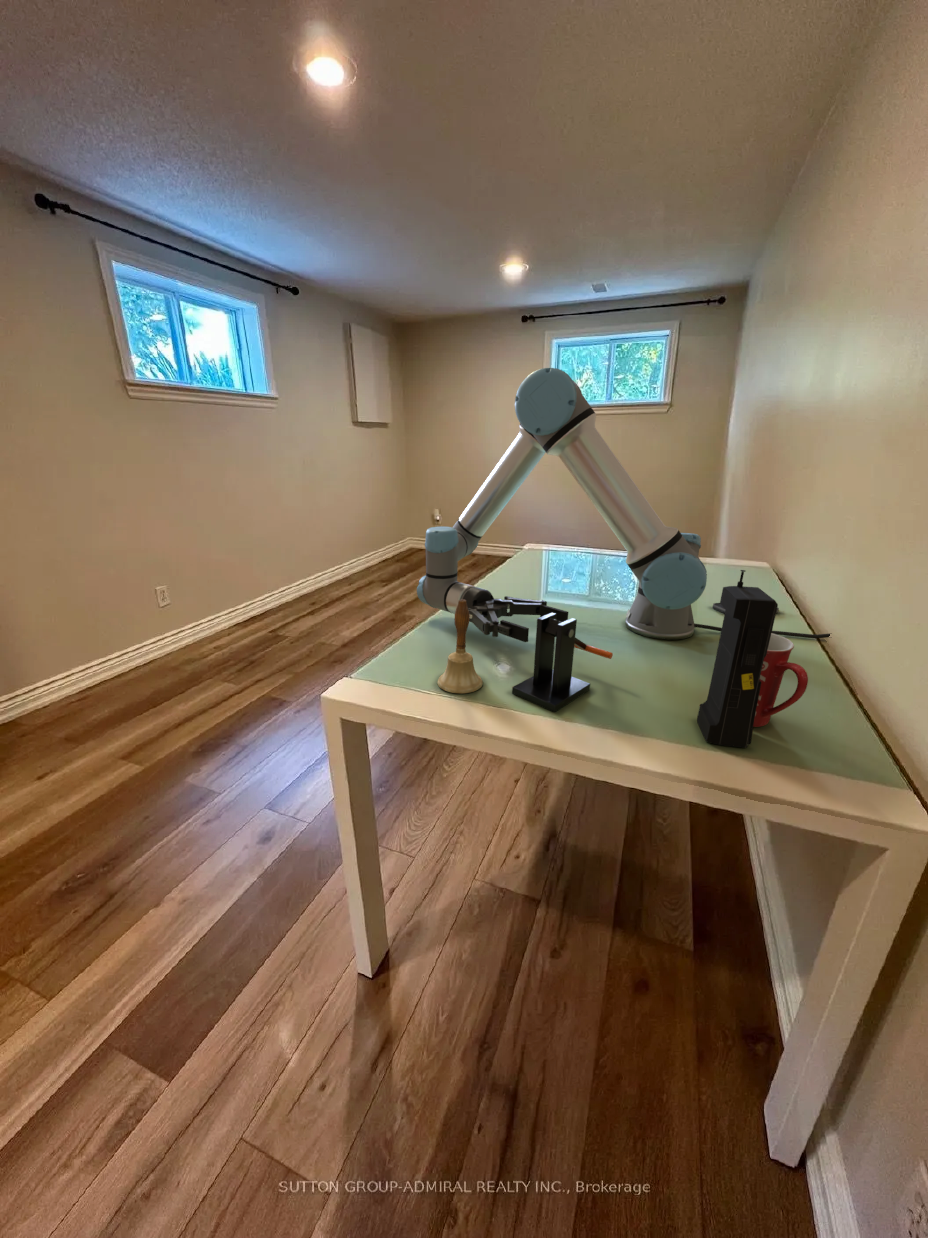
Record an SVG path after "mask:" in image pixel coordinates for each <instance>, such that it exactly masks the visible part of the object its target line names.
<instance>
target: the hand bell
mask: <svg viewBox="0 0 928 1238" xmlns="http://www.w3.org/2000/svg"><path fill="white" fill-rule="evenodd" d="M469 624H470V621H469V610H468V607H467V603H466V600H464V599H460V600H459V602H458V605H457V608H456V611H455V614H454V626H455V631H456V646H455V651H453V652H451V653H450V654H449V655H448V657H447V663H446V668H445V670H444V672H443V673H442V674H441V675H440V676H439V677H438V679H437V683H436V684H437V686H438V687H439V688H440V689H441V690H443V691H446V692H448V693H453V694H468V693H474V692H476V691H478V690H479V689H481V688H482V686H483V683H484V682H483V679H482V678H481V676H480V675H479V674H478V673H477V672H476V669H475V664H474V657H473V655H472V654H471V653H469V652H468V651H466V648H467V637H466V636H467V630H468V628H469Z"/></svg>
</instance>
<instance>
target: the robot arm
mask: <svg viewBox="0 0 928 1238" xmlns="http://www.w3.org/2000/svg"><path fill="white" fill-rule="evenodd" d="M514 412H515V415H516V418H517V420H518V422H519V425H518V428H519V429H518V430H519V432H518V434H517V435H516V437H515V438H514V440H513V441H512V442H511V444H509V447H508V448H507V449H506V450H505V452H504V453H503V455H502V456H501V458H500V459H499V461H498V462H497V464H496V465H495V466H494V468H493V469H492V471H491V472H490V473H489V475H488V476H487V478H486V479H485V481H483V483H482V485H481V486H480V487H479V488H478V490H477V492H476V493H475V495H474V496H473V497H472V498H471V501H470V502H469V503H468V504H467V506H466V507H465V508H464V510H463V511H462V513H461V514H460V516H459V517H458V519H456V522H455V523H454V525H453V526H440V525H439V526H431V527H428V528H427V529H426V531H425V540H424V547H425V549H424V550H425V575H423V576H422V577H421V578H420V579H419V581H418V585H417V587H416V595H417V598H418V600H419V601H420V602H421V603H423V604H425V605H427V606H429V607H431V608H433V609H438V610H441V611H445V612H448V613H450V614H453V615H455V611H456V608H457V605H458V602H459V600H460V599H464V600H466V603H467V607H468V610H469V623H472V624H473V625H474V626H475V628H477V629H478V630H479V631H480V632H481V633H482V634H483V635H485V636H489V635H491V636H492V637H493V638H498V637H499V634H500V635H503V636H506V637H509V638H512V639H515V640H517V641H520V642H523V643H528V642H529V634H530V633H529V632H530V629H529V628H530V627H527V626H524V625H520V624H517V623H515V622H511V621H508V620H505V619H501V620H499V618H501V617H512V616H514V615H521V616H539V618H540V617H542V616H545V615H547V614H550V613H556V614H557V619H556V620H557V621H561V622H564V621H567V620H569V611H567V610H564V609H560V608H556V607H554V606H549V605H548V601H546V600H543V599H541V600H540V599H531V598H530V599H529V598H518V597H513V596H508V595H505V596H504V597H503V599H502V598H494V596H493V593H492V592H491V591H489V590H488V589H485V588H481V587H479V586H475V585H471V584H469V583H464V582H460V581H458V575H459V574H458V573H459V572H458V570H459V567H458V563H459V562H460V561H461V560H463V559H464V558H465V557H467V556H470V555H471V554H473V552H474V551H475V550H476V549H477V547H478V546H479V542H480V541H481V539H482V538H483V536H484V535H485V534H486V532H487V531H488V530H489V528H490V527H491V526H492V524H493V523H494V522H495V520H496V519H497V518H498V516H500V514H501V512H502V511H503V510H504V508H505V507H506V506H507V505H508V503H509V502H510V501H511V500H512V498H513V496H514V495H515V494H516V493H517V491H518V490H519V489H520V487H521V486H522V485H523V483H524V482H525V481H526V479H527V478H528V477H529V476H530V474H531V473H532V471H533V470H534V469H535V468H536V466H537V465H538V464H539V462H540V461H541V460H542V459H543V457H544V456H545V455H549V456H554V457H555V456H556V457H558V458H559V459H560V461H561V462H562V463H563V465H564V466H565V468H566V469H567V470H568V471H569V473H570V475H571V476H572V477H573V478H574V480H575V481H576V483H577V484H578V485H579V487H580V489H581V490H582V491H583V492H584V493H585V495H586V496H587V498H588V500H589V501H590V502H591V504H592V505H593V506H594V508H595V509H596V510H597V512H598V513H599V514H600V516H601V517H602V519H603V521H605V522H606V524H607V526H608V527H609V529H611V531H612V533H613V534H614V535H615V536H616V538H617V539H618V541H619V542H620V544H621V545H622V546H623V547H624V549H625V550H626V553H627V554H626V559H625V564H626V565H627V567H629V569H630V571H631V573H633V576H635V578H636V579H637V580H638V586H637V593H636V596H635V598H634V600H633V602H632V604H631V606H630V607H629V608H628V610H627V611H626V613H625V616H626V617H625V623H624V624H625V627H626V628H627V629H628V630H630V631H631V632H633V633H635V634H637V635H640V636H643V637H647V638H652V639H656V640H668V641H669V640H670V641H671V640H672V641H675V640H683V639H684V640H685V639H688V638H691V636H693V635H694V631H695V628H698V629H703V630H704V629H705V630H711V631H717V632H721V630H722V627H719V626H714V625H708V624H703V623H702V624H701V623H695V619H694V614H693V609H692V608H693V607H692V604H694V603H695V602H696V601H698V600H699V598H701V596H702V595H703V593H704V592H705V589H706V586H707V582H708V580H707V579H708V574H707V568H706V566H705V564H704V563H703V561H702V560H701V559H700V556H699V554H700V549H701V548H702V544H701V542H702V537H701V536H700V535H699V534H697V533H689V532H681V531H680V530H679V529H678V527H673V526H667V525H665V524H664V521H663V520H662V519H661V518H660V517H659V515H658V514H657V512H656V511H655V509H654V508H653V506H652V505H651V503H650V502H649V501H648V499H647V498H646V497H645V495H644V494H643V492H642V491H641V489H639V487H638V486H637V484H636V482H635V481H634V480H633V479H632V477H631V476H630V474H629V472H628V471H627V470H626V468H625V467H624V466H623V465H622V463H621V462H620V460H619V459H618V458H617V456H616V455H615V453H614V451H613V450H612V449H611V448H610V446H609V445H608V443H607V442H606V440H605V439H604V437H603V436H602V435H601V434H600V432H599V431H598V429H597V428H596V421H597V413H596V412H595V410H594V408H592V406H591V405H590V403H589V402H588V401H587V399H586V398H585V396H584V395H583V393H582V390H581V388H580V386H579V384H577V382H576V381H574V380H573V379H572V377H571V376H570V375H569V374H568V373H567V372H566V371H564V370H562V369H560V368H558V367H557V368H555V367H543V368H539V369H537V370H534V371H532V372H531V373H530V374H528V375H527V376H526V377H525V378H524V379H523V381H522V382H521V383H520V385H519V386H518V389H517V391H516V393H515V398H514ZM508 610H509V611H508ZM772 633H773V634H776V635H779V636H784V637H785V636H786V637H795V638H796V637H797V638H805V639H825V638H826V639H827V638H830V637H829V636H830V634H831V633H820V634H817V633H816V634H814V633H813V634H811V633H802V632H791V631H781V630H772Z"/></svg>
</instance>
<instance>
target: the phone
mask: <svg viewBox="0 0 928 1238" xmlns="http://www.w3.org/2000/svg"><path fill="white" fill-rule="evenodd" d="M712 609H713V610H715V611H718V612H720V613H722V614H724V615H725V610H726V609H725V608H724V607H723V606H722V605H721V604H720V602H714V603H712ZM779 610H780V607H779V606H778V607H777V611H776V614H778V613H779Z"/></svg>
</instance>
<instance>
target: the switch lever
mask: <svg viewBox="0 0 928 1238" xmlns="http://www.w3.org/2000/svg"><path fill="white" fill-rule="evenodd" d="M560 623H562V622H561V621H557V620H554V619H549V622H548V624H547V627H546V629H545V632H547V633H548V634H550V635H551V636H554V637H555V638H556V634H557V624H560ZM575 648H576V649H577V650H578V649H579V650H581V651H585V652H587V653H589V654H590V653H591V654H593V655H597V656H599V657H603V658H604V659H605V658H606V659H608V660H611V659H612V658H613V656H614V654H613V652H611V651H609V650H606V649H602V648H599V647H595V646H592V645H590V644H586V643H585V642H584V641H582V640H580V638H577V637H576V636H575V644H574V649H575Z"/></svg>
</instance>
